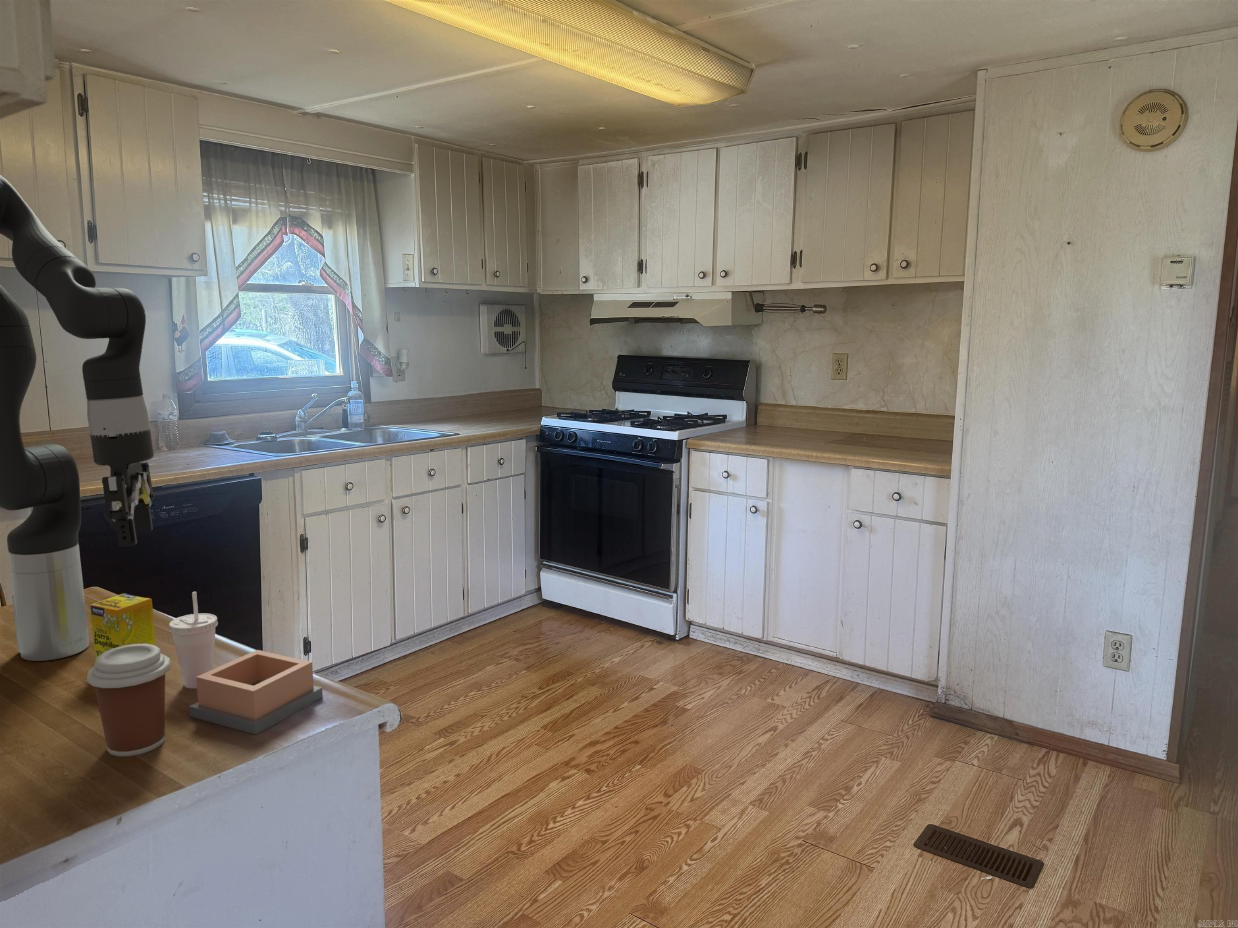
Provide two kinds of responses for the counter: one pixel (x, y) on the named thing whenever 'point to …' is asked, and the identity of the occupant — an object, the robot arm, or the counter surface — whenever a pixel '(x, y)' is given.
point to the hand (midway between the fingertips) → (136, 538)
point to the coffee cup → (131, 697)
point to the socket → (255, 691)
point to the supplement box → (122, 622)
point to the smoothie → (194, 643)
